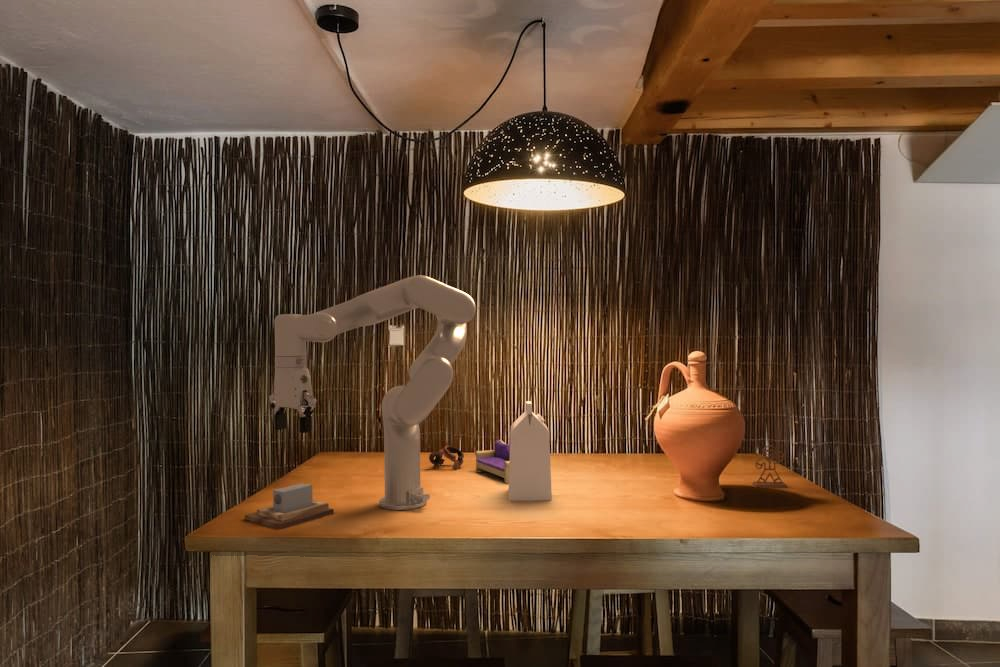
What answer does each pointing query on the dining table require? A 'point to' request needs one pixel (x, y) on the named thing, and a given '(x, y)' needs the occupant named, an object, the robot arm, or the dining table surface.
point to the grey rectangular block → (292, 498)
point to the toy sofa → (495, 460)
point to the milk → (529, 458)
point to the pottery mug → (448, 455)
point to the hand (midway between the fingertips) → (293, 430)
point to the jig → (289, 515)
